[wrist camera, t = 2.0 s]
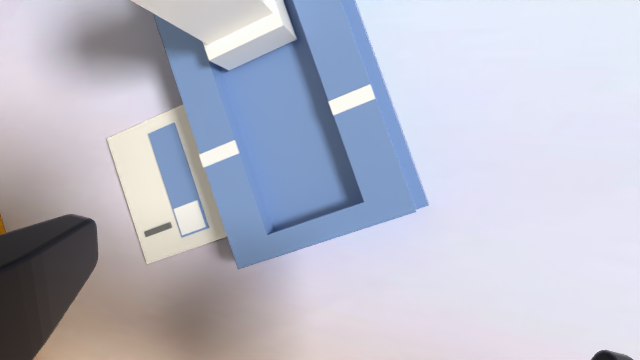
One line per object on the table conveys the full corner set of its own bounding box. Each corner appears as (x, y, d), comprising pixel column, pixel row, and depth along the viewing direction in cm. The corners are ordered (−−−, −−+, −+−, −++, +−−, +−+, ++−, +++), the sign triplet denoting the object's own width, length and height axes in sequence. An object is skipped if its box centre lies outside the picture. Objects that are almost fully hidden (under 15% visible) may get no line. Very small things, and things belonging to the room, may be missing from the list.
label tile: (233, 234, 21) (227, 236, 20) (151, 262, 22) (144, 265, 21) (189, 104, 21) (183, 102, 21) (112, 139, 22) (104, 138, 22)
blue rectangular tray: (428, 202, 18) (428, 207, 16) (251, 260, 20) (227, 273, 18) (317, -104, 19) (301, -145, 17) (158, -17, 21) (123, -42, 19)
